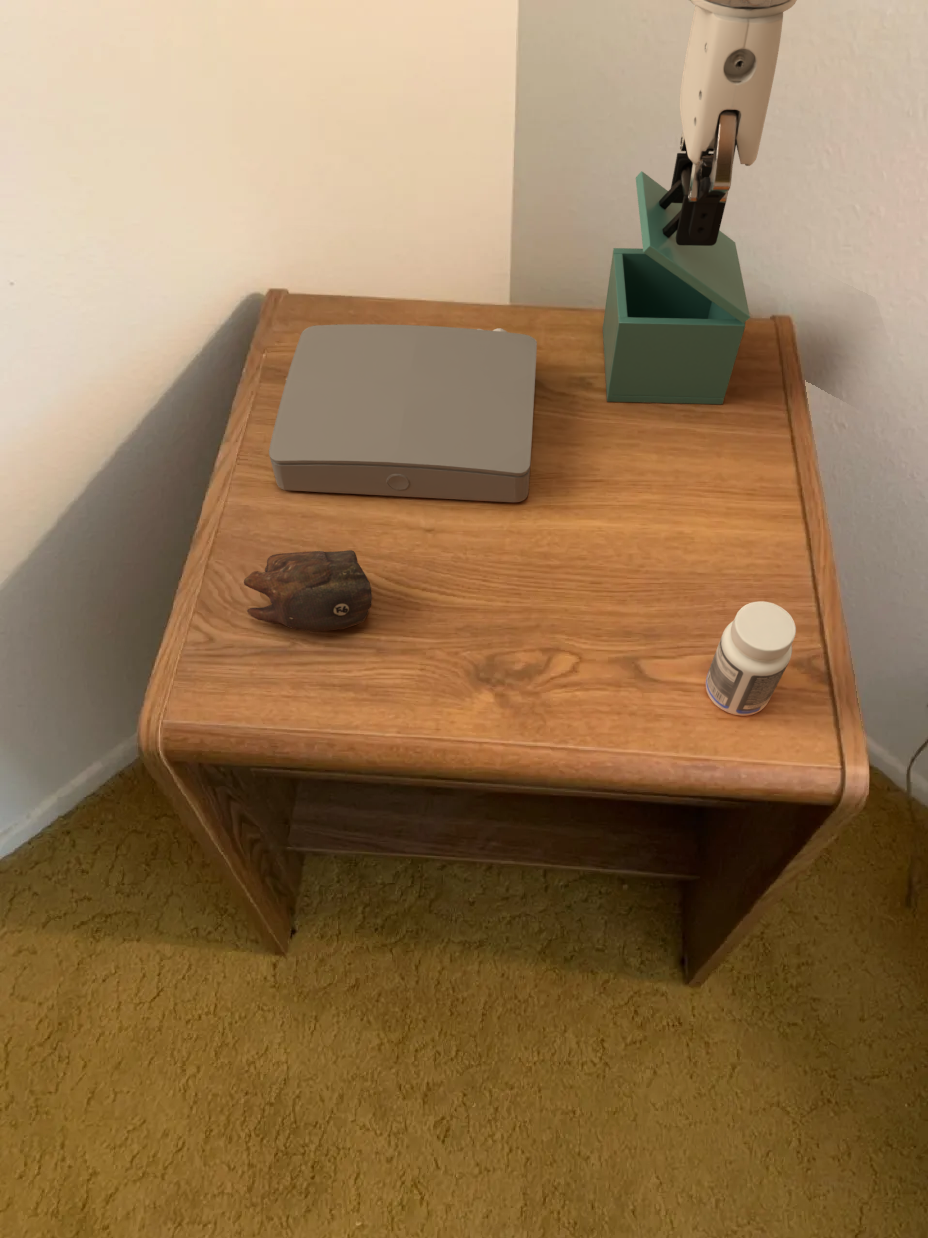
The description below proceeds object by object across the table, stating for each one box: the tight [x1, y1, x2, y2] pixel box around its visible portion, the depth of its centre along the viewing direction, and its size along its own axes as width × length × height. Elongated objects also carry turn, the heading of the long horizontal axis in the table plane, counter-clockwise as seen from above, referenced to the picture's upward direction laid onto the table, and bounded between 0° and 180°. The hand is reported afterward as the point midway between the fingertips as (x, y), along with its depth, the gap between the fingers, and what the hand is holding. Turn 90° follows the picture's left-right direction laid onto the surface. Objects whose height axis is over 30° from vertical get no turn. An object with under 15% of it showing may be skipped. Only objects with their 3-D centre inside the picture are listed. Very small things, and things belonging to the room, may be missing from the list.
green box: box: [602, 247, 746, 405], centre depth 84 cm, size 11×11×9 cm
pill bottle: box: [705, 600, 797, 717], centre depth 64 cm, size 5×5×8 cm
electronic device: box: [268, 323, 538, 503], centre depth 82 cm, size 19×22×5 cm
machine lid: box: [635, 162, 751, 324], centre depth 76 cm, size 11×11×5 cm
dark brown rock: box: [243, 549, 373, 632], centre depth 71 cm, size 6×7×10 cm
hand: (692, 219), depth 76 cm, fingers closed on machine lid, 5 cm apart
